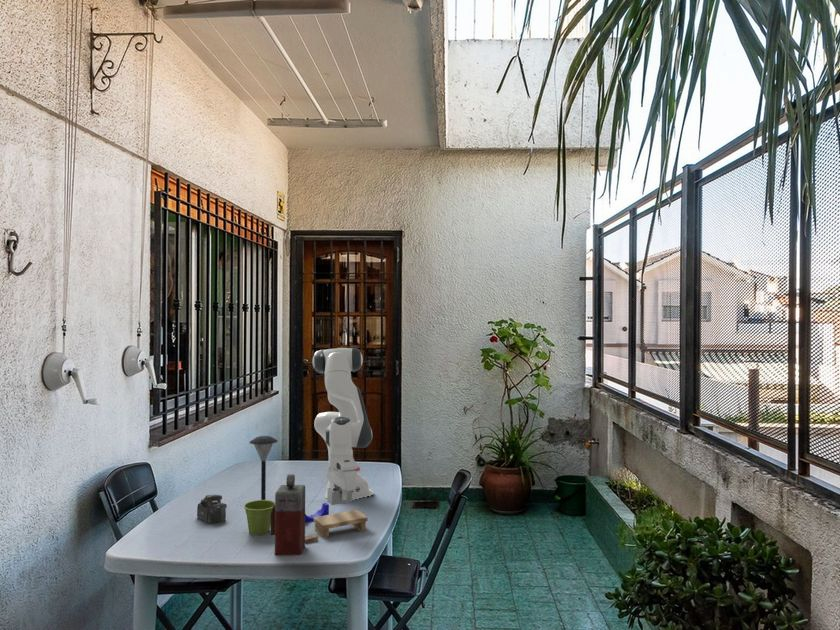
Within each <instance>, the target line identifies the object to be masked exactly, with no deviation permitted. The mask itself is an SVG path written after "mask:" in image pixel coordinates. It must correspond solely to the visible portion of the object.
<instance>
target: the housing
mask: <svg viewBox="0 0 840 630" xmlns="http://www.w3.org/2000/svg"><path fill="white" fill-rule="evenodd" d="M341 495H342V489H341V488H340V487H336V486H333V487H332V488H328V493H327V498H326V500H327V501H326V503H329V504H330V505H331V506H336V505H340V504H343V505H344V504H349V503H352V502H353V501H352V491H348V493H347V499H346V500H342V499H341Z"/></svg>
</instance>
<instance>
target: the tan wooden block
mask: <svg viewBox="0 0 840 630" xmlns="http://www.w3.org/2000/svg"><path fill="white" fill-rule="evenodd" d="M318 541H319V537H318V535H316V534H315V533H314V534H310V535H305V544H308V543H312V542H318Z"/></svg>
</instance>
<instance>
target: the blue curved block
mask: <svg viewBox="0 0 840 630" xmlns="http://www.w3.org/2000/svg"><path fill="white" fill-rule="evenodd" d="M329 504H330V503H329ZM329 504H328V502H323V503H322V504H321V509H318V510H317V511H316V512H315V513H313V514H310V515H307V514H306V513H305V523H309V522H310V523H311V522H313V517H319V516H324V515H330V505H329Z"/></svg>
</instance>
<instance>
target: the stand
mask: <svg viewBox="0 0 840 630" xmlns="http://www.w3.org/2000/svg"><path fill="white" fill-rule="evenodd" d="M312 522H313V523H314V532H316V533H317V534H318V535H319V536H321V537H322V538H324V539H325V538H330V529H334V528H335V529H336V528H339V527H345V526H350V525H351V526H352V525H353V527H354V528H355V527H356V528H355V529H356V530H358V529H359V532H364V530H365V531H367V526H366V524H367V522H368V516H366V515H365V514H364V513H362V512H361V511H359V510H358V509H354V510H353V509H352V510H349V511H348V510H347V511H342V512H337V513H331V514H330V513H329V515H324V516H319V517H313V521H312Z"/></svg>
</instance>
